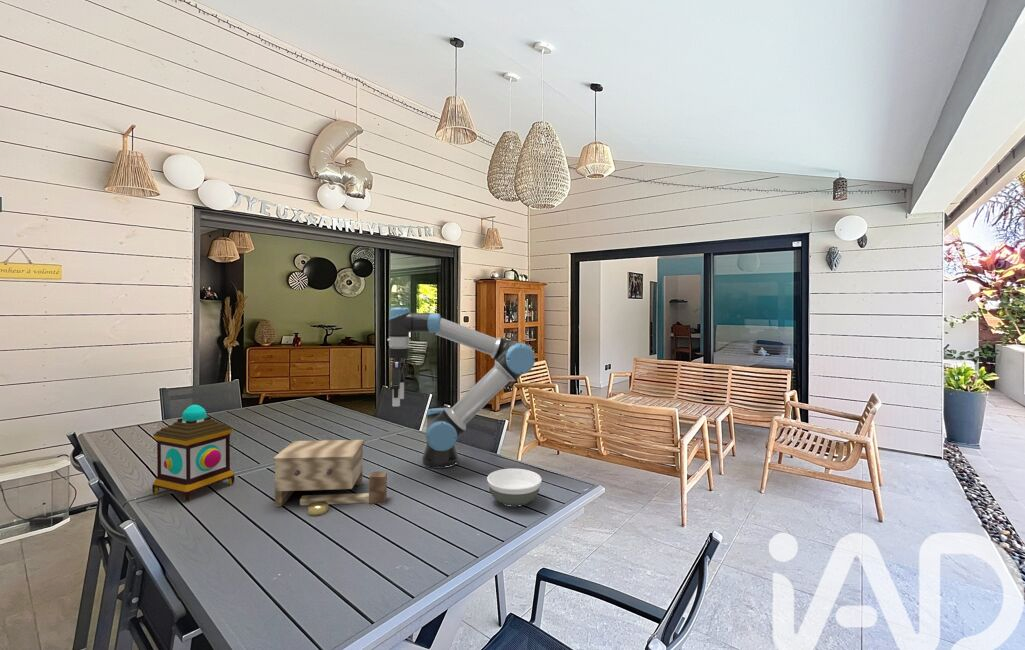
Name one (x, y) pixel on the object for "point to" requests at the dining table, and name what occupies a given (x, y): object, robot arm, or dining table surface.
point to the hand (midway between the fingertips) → (398, 402)
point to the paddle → (373, 497)
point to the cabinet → (317, 467)
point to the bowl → (514, 486)
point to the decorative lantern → (192, 453)
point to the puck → (317, 508)
